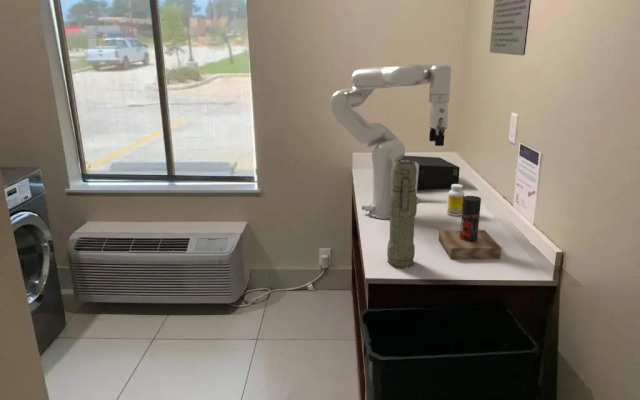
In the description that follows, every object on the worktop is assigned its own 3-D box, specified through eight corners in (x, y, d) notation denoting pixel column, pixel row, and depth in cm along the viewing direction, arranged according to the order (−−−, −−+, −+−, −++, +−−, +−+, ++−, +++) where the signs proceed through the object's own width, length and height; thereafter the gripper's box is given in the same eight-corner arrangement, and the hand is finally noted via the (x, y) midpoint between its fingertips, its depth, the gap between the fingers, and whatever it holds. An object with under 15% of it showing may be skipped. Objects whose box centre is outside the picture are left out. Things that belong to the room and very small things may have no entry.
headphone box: (378, 180, 268) (379, 154, 264) (438, 176, 274) (439, 151, 270) (393, 192, 245) (394, 164, 241) (458, 188, 251) (460, 161, 247)
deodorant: (480, 239, 172) (484, 199, 168) (467, 242, 170) (471, 201, 165) (469, 234, 177) (472, 194, 173) (456, 237, 175) (459, 197, 170)
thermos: (390, 270, 158) (394, 165, 148) (384, 256, 169) (387, 157, 159) (417, 269, 159) (423, 164, 148) (409, 255, 170) (414, 156, 160)
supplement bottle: (463, 216, 208) (465, 187, 204) (447, 216, 209) (449, 187, 206) (462, 212, 214) (464, 183, 211) (446, 211, 216) (448, 183, 212)
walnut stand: (450, 259, 166) (451, 248, 165) (438, 240, 183) (439, 230, 182) (500, 258, 167) (501, 247, 165) (483, 240, 183) (484, 230, 182)
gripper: (455, 100, 177) (451, 147, 182) (443, 96, 194) (440, 139, 199) (434, 101, 177) (431, 147, 182) (424, 96, 194) (422, 139, 199)
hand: (436, 143), depth 191 cm, fingers open, 9 cm apart
